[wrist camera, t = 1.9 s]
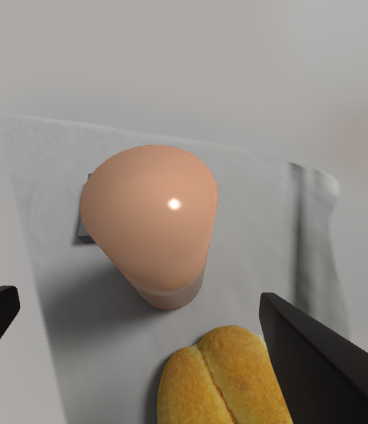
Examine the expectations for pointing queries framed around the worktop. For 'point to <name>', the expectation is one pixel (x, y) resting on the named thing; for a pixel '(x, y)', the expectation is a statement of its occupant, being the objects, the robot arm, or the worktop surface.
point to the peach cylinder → (153, 220)
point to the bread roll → (221, 382)
